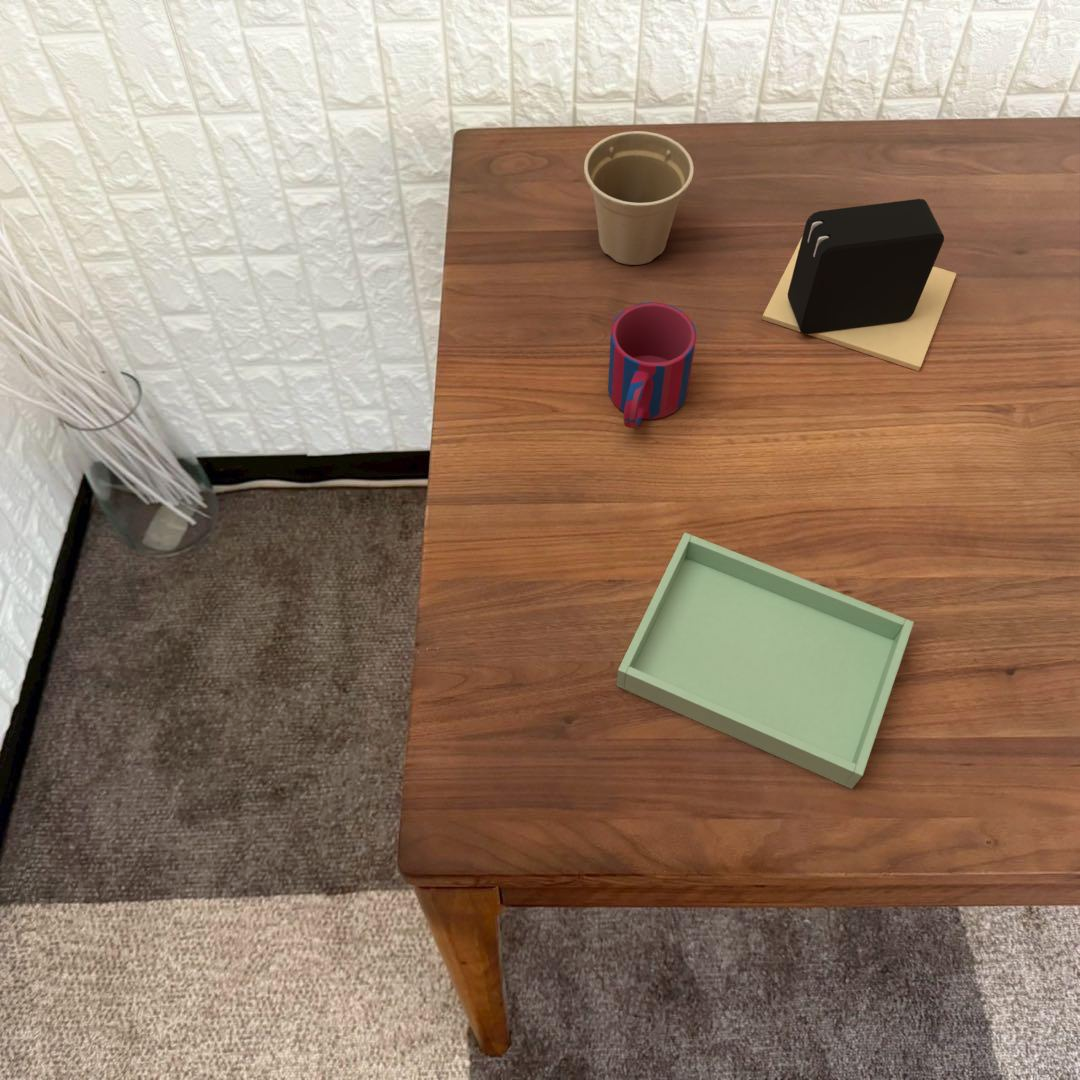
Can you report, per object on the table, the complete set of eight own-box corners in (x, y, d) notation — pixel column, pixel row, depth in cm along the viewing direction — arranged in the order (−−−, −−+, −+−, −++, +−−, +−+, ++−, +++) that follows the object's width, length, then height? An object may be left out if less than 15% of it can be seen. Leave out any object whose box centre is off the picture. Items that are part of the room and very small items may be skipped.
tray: (902, 639, 73) (914, 621, 71) (852, 789, 68) (862, 776, 65) (680, 551, 77) (684, 531, 75) (615, 686, 72) (617, 669, 69)
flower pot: (701, 261, 93) (713, 185, 85) (608, 292, 91) (611, 216, 84) (656, 197, 97) (664, 119, 90) (566, 225, 96) (566, 148, 88)
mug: (698, 372, 86) (708, 316, 80) (656, 460, 82) (663, 408, 76) (625, 348, 88) (629, 292, 82) (580, 434, 83) (581, 380, 77)
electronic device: (910, 321, 88) (948, 232, 79) (798, 336, 87) (823, 248, 79) (894, 286, 90) (929, 196, 81) (785, 301, 89) (808, 211, 81)
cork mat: (954, 277, 91) (957, 273, 91) (918, 371, 86) (921, 367, 85) (805, 232, 94) (806, 227, 94) (761, 319, 89) (762, 315, 89)
